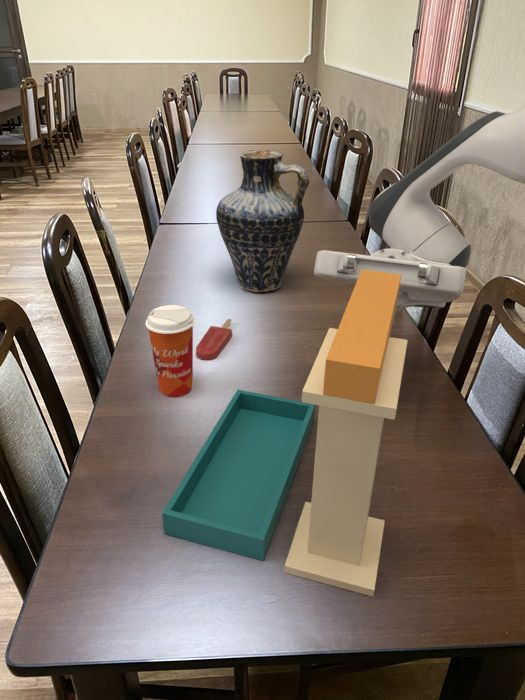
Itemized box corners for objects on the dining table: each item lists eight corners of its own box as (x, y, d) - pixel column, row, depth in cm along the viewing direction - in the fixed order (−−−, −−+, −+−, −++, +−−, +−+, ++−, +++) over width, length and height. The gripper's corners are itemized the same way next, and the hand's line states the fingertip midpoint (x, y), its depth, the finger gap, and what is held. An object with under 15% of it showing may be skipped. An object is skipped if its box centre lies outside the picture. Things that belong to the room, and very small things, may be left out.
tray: (237, 407, 87) (237, 389, 85) (313, 422, 84) (315, 404, 82) (164, 534, 65) (161, 513, 63) (263, 561, 62) (263, 540, 60)
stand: (306, 502, 70) (319, 326, 56) (384, 520, 67) (417, 341, 54) (281, 579, 60) (290, 388, 46) (372, 605, 57) (409, 411, 44)
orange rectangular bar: (358, 298, 62) (361, 269, 60) (396, 303, 61) (401, 274, 59) (322, 394, 46) (325, 359, 44) (374, 404, 45) (380, 368, 43)
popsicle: (240, 317, 110) (214, 354, 98) (240, 324, 111) (214, 362, 99) (219, 314, 111) (191, 351, 99) (219, 321, 112) (191, 358, 100)
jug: (206, 294, 123) (199, 158, 108) (234, 264, 139) (232, 142, 124) (293, 307, 118) (300, 166, 102) (312, 274, 134) (320, 148, 118)
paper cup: (146, 398, 89) (137, 323, 81) (160, 373, 95) (153, 301, 88) (193, 403, 88) (188, 327, 80) (203, 377, 94) (200, 305, 87)
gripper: (324, 250, 84) (310, 231, 70) (462, 267, 79) (474, 250, 65) (318, 290, 84) (302, 279, 70) (454, 309, 79) (465, 301, 65)
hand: (386, 265), depth 68 cm, fingers open, 8 cm apart
